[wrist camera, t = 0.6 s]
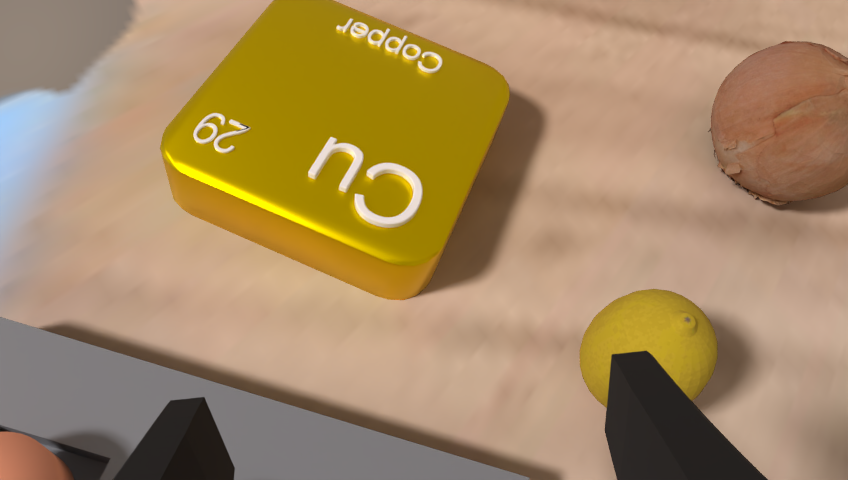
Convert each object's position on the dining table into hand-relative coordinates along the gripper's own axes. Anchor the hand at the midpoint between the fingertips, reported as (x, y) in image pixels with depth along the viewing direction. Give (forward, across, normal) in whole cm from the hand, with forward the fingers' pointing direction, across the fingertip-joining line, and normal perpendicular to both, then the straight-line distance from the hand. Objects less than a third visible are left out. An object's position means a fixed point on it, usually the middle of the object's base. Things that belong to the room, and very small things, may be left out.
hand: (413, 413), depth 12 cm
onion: (+30, -22, +14) cm, 39 cm away
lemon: (+15, -9, +17) cm, 25 cm away
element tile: (+27, +4, +9) cm, 29 cm away
